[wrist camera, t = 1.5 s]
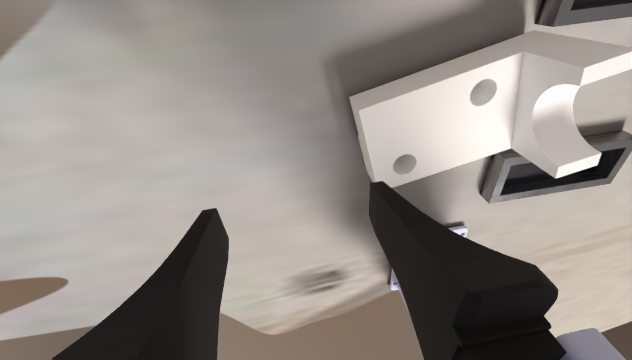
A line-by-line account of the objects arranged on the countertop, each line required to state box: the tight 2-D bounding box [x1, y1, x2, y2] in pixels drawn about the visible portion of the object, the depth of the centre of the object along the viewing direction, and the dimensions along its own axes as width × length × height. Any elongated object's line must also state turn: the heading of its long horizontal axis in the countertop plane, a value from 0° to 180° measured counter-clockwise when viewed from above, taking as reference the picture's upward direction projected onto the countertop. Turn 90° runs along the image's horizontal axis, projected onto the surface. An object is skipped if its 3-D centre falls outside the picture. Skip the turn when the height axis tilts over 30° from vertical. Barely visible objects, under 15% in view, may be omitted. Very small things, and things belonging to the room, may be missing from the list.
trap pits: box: [480, 0, 632, 204], centre depth 22 cm, size 20×12×2 cm, turn 5°
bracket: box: [349, 30, 632, 188], centre depth 19 cm, size 13×7×8 cm, turn 108°
